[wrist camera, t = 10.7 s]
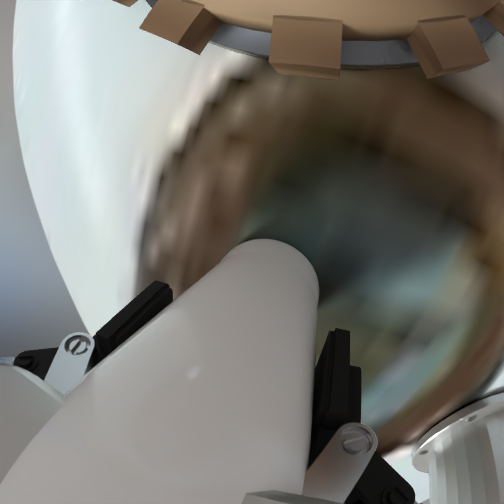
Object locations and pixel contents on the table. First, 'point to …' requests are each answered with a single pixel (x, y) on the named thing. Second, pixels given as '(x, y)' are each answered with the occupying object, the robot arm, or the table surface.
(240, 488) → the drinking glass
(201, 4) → the sprocket
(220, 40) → the sprocket stand
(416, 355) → the table surface
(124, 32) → the table surface
